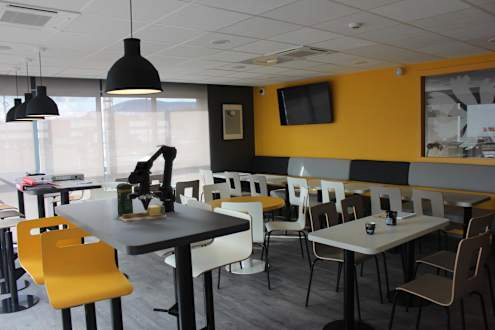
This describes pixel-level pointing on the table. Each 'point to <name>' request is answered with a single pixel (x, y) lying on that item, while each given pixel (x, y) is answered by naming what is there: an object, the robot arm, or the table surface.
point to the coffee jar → (124, 199)
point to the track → (142, 215)
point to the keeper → (154, 210)
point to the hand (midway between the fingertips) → (145, 210)
